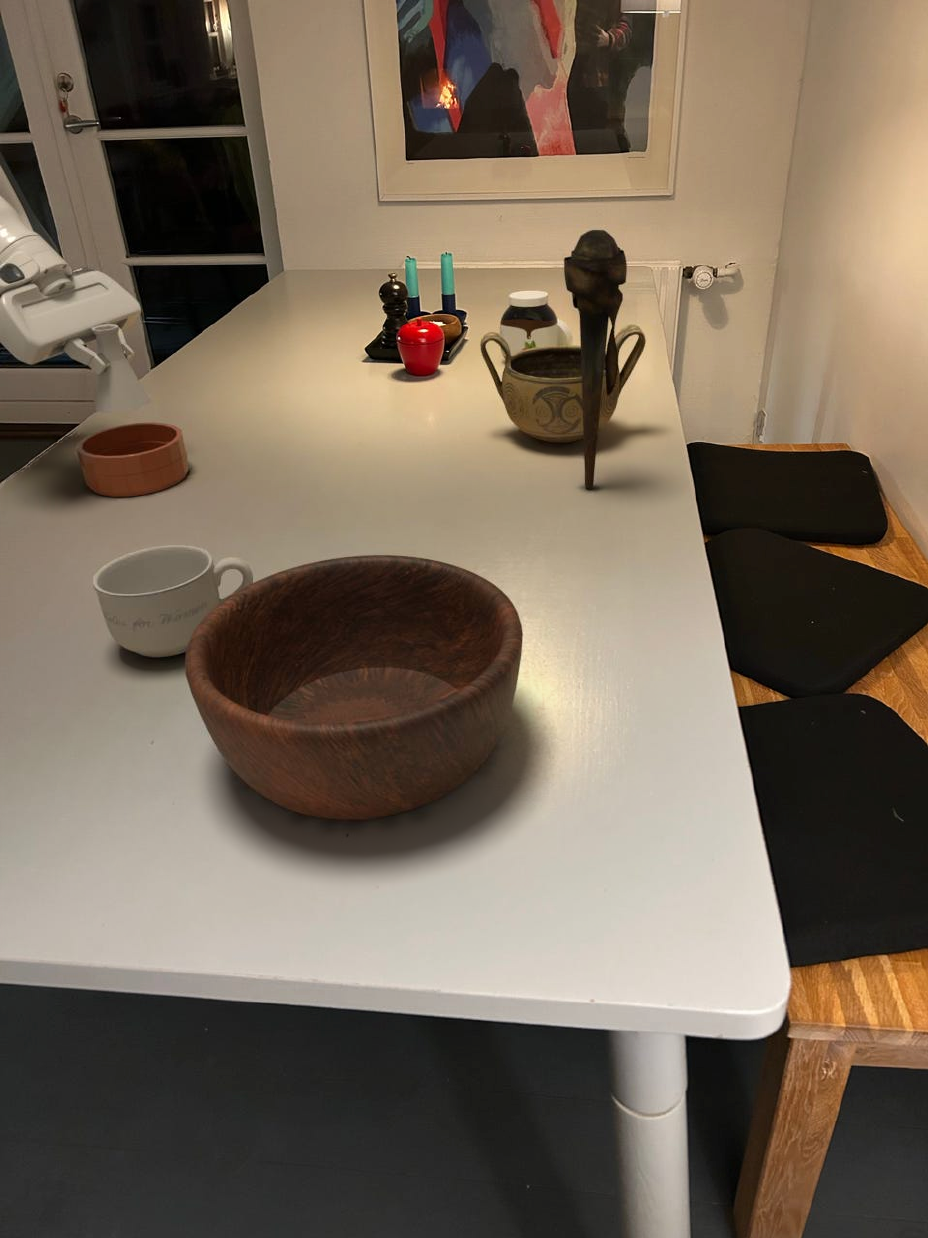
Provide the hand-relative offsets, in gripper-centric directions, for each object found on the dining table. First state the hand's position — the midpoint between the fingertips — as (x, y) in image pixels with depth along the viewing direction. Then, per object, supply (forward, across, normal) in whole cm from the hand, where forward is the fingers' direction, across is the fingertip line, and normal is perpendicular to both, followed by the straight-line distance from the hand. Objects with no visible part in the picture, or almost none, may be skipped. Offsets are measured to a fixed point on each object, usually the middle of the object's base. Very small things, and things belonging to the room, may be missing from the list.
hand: (117, 364), depth 115 cm
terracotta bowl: (+10, -1, -12) cm, 16 cm away
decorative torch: (+52, -13, +30) cm, 61 cm away
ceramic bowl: (+46, -30, +24) cm, 60 cm away
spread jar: (+35, -69, +13) cm, 78 cm away
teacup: (+32, +32, +10) cm, 47 cm away
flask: (+4, 0, -4) cm, 6 cm away
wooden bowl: (+49, +41, +26) cm, 69 cm away
